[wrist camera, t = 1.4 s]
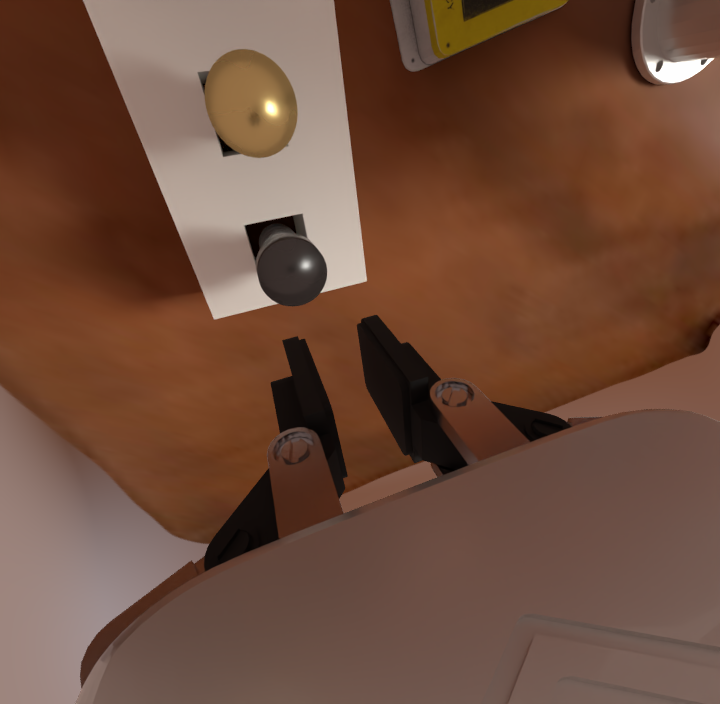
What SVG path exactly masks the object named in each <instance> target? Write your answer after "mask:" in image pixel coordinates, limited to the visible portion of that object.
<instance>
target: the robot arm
mask: <svg viewBox="0 0 720 704" xmlns="http://www.w3.org/2000/svg"><path fill="white" fill-rule="evenodd" d="M631 42H632V51H633V57H634V60H635V63H636V67H637V68H638V70H639V72H640V73H641V75H642V76H643V77H644V78H645V79H646V80H647V81H648V82H651V83H654V84H656V85H667V84H674V83H680V82H682V81H684V80H687V79H689V78H691V77H692V76H694V75H695V74H697V73H698V72H700V71H701V70H702V69H703V68H704V67H705V66H706V65H708V64H709V63H710V62H711V61H712V60H713V59H714V58H717V57H720V0H636V2H635V6H634V13H633V19H632V33H631ZM357 330H358V336H359V343H360V350H361V357H362V364H363V371H364V377H365V383H366V387H367V389H368V391H369V393H370V395H371V397H372V399H373V400H374V402H375V404H376V406H377V408H378V409H379V411H380V413H381V415H382V417H383V418H384V420H385V422H386V424H387V425H388V427H389V429H390V431H391V433H392V434H393V436H394V438H395V440H396V442H397V443H398V445H399V447H400V449H401V451H402V452H403V454H404V455H405V456H406V455H408V454H409V455H410V456H411V458H412V460H413V461H414V463H416V462H419V461H422V460H424V461H427V462H430V463H431V466H432V469H433V471H434V473H435V474H436V476H437V478H435V479H432V480H429V481H427V482H424V483H422V484H419V485H416V486H414V487H411V488H409V489H406V490H403V491H401V492H398V493H396V494H393V495H390V496H388V497H385V498H383V499H380V500H378V501H375V502H373V503H370V504H367V505H365V506H363V507H360V508H357V509H355V510H352V511H349V512H347V513H343V510H342V507H341V504H340V501H339V498H340V497H341V495H342V493H343V492H344V490H345V485H344V481H343V478H345V477H347V471H346V467H345V463H344V458H343V454H342V450H341V445H340V441H339V437H338V432H337V428H336V424H335V419H334V415H333V411H332V408H331V405H330V402H329V399H328V397H327V394H326V391H325V389H324V386H323V384H322V381H321V379H320V376H319V374H318V371H317V369H316V366H315V363H314V361H313V358H312V356H311V353H310V351H309V348H308V346H307V343H306V341H305V339H301V340H299V339H298V336H297V337H293V338H290V339H286V340H282V341H283V344H284V348H285V351H286V355H287V358H288V362H289V365H290V369H291V372H292V376H290V377H287V378H283V379H280V380H277V381H273V382H271V388H272V393H273V398H274V403H275V409H276V414H277V419H278V424H279V430H280V434H279V435H278V436H277V437H275V439H274V440H273V441H272V442H271V443H270V446H269V448H268V453H267V458H268V465H269V469H268V470H267V471H266V472H265V474H264V475H263V476H262V477H261V479H260V480H259V481H258V482H257V484H256V485H255V486H254V487H253V489H252V490H251V491H250V492H249V494H248V495H247V496H246V498H245V499H244V500H243V501H242V503H241V504H240V505H239V506H238V508H237V509H236V510H235V511H234V513H233V514H232V515H231V516H230V518H229V519H228V520H227V521H226V523H225V524H224V525H223V526H222V528H221V529H220V530H219V531H218V533H217V534H216V535H215V537H214V538H213V539H212V541H211V543H210V544H209V546H208V548H207V551H206V554H205V556H204V557H202V558H201V559H200V560H199V561H197V562H196V563H195V564H194V563H193V562H192V561H190V562H188V563H187V564H186V565H185V566H183V567H182V568H181V569H179V570H178V571H177V572H175V573H174V574H173V575H171V576H170V577H169V578H167V579H166V580H165V581H163V582H162V583H161V584H159V585H158V586H157V587H156V588H154V589H153V590H151V591H150V592H149V593H148V594H146V595H145V596H143V597H142V598H141V599H140V600H138V601H137V602H136V603H134V604H133V605H132V606H130V607H129V608H128V609H126V610H125V611H124V612H122V613H121V614H120V615H118V616H117V617H116V618H114V619H113V620H112V621H110V622H109V623H108V624H107V625H106V626H105V627H104V628H103V629H102V630H101V631H100V632H98V634H97V635H96V636H95V638H94V639H93V641H92V642H91V644H90V645H89V646H88V648H87V650H86V653H85V655H84V657H83V660H82V662H81V672H80V680H81V688H82V689H81V692H80V694H79V696H78V699H77V701H76V703H75V704H720V422H719V421H716V420H714V419H712V418H709V417H707V416H704V415H701V414H697V413H694V412H689V411H682V410H672V409H649V410H648V409H646V410H638V411H630V412H622V413H618V414H614V415H609V416H605V417H580V418H569V419H568V422H566V421H564V420H562V419H561V418H559V417H557V416H554V415H551V414H547V413H543V412H538V411H533V410H529V409H524V408H520V407H515V406H510V405H506V404H501V403H496V402H492V401H490V400H489V399H488V398H487V397H486V396H485V395H484V394H483V393H482V392H481V391H480V390H479V389H478V388H477V387H476V386H475V385H473V384H472V383H471V382H469V381H466V380H464V379H459V378H447V379H442V380H441V379H440V378H439V377H438V375H437V374H436V373H435V372H434V371H433V370H432V369H431V367H430V366H429V365H428V364H427V363H426V362H425V361H424V359H423V358H422V357H421V356H420V355H419V354H418V353H417V351H416V350H415V349H414V348H413V347H412V346H411V345H410V344H409V343H407V342H406V343H402V344H401V343H400V342H399V341H398V340H397V338H396V337H395V336H394V335H393V334H392V332H391V331H390V330H389V329H388V328H387V326H386V325H385V324H384V323H383V322H382V320H381V319H380V318H379V317H378V316H377V315H374V316H370V317H367V318H363V319H362V320H361V323H360V324H357Z"/></svg>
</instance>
